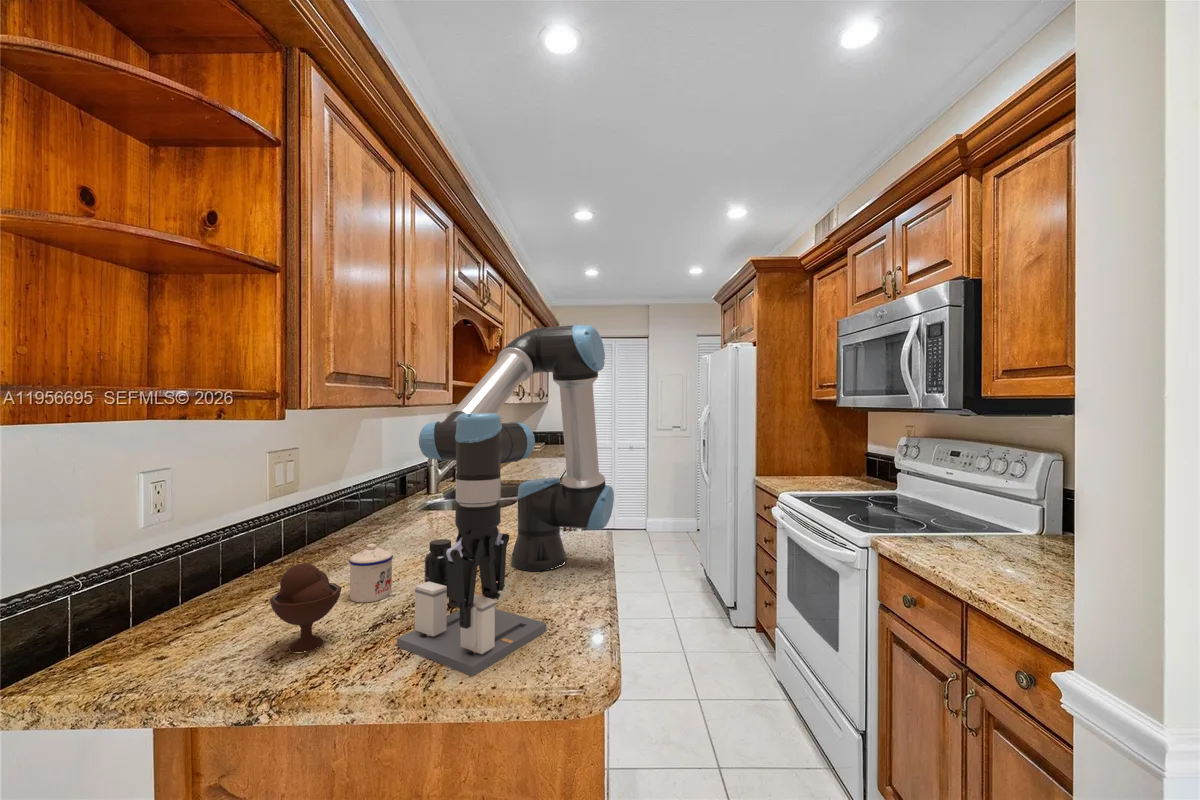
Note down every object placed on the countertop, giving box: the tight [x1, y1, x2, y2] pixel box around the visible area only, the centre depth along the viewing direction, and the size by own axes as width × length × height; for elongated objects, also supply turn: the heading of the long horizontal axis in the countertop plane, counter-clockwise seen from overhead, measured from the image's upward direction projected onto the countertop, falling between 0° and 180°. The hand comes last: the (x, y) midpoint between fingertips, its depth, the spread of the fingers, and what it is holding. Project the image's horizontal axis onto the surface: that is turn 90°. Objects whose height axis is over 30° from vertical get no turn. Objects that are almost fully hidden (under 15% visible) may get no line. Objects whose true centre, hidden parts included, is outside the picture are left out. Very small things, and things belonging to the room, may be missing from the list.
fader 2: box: [461, 593, 496, 654], centre depth 85 cm, size 3×5×9 cm, turn 58°
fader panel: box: [396, 608, 547, 677], centre depth 92 cm, size 19×19×2 cm
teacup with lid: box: [348, 543, 394, 603], centre depth 115 cm, size 12×9×12 cm
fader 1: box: [414, 581, 448, 636], centre depth 91 cm, size 3×5×9 cm, turn 58°
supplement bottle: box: [423, 538, 452, 598], centre depth 115 cm, size 7×7×12 cm
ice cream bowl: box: [269, 562, 342, 653], centre depth 89 cm, size 11×11×15 cm
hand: (477, 640), depth 85 cm, fingers closed on fader 2, 3 cm apart
